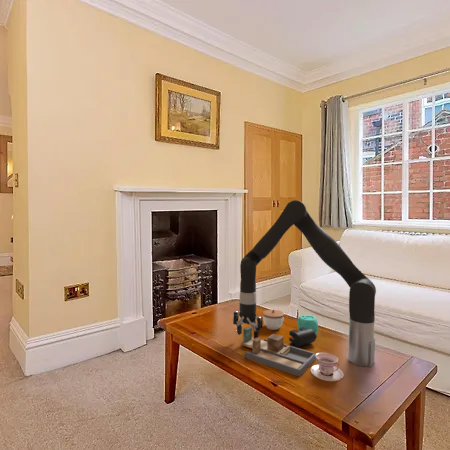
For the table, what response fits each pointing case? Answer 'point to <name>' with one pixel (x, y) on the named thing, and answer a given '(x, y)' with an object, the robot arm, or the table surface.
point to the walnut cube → (275, 342)
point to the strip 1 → (249, 341)
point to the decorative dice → (308, 323)
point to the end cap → (302, 337)
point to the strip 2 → (272, 357)
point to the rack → (294, 354)
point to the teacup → (327, 367)
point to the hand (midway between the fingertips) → (247, 336)
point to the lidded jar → (273, 319)
